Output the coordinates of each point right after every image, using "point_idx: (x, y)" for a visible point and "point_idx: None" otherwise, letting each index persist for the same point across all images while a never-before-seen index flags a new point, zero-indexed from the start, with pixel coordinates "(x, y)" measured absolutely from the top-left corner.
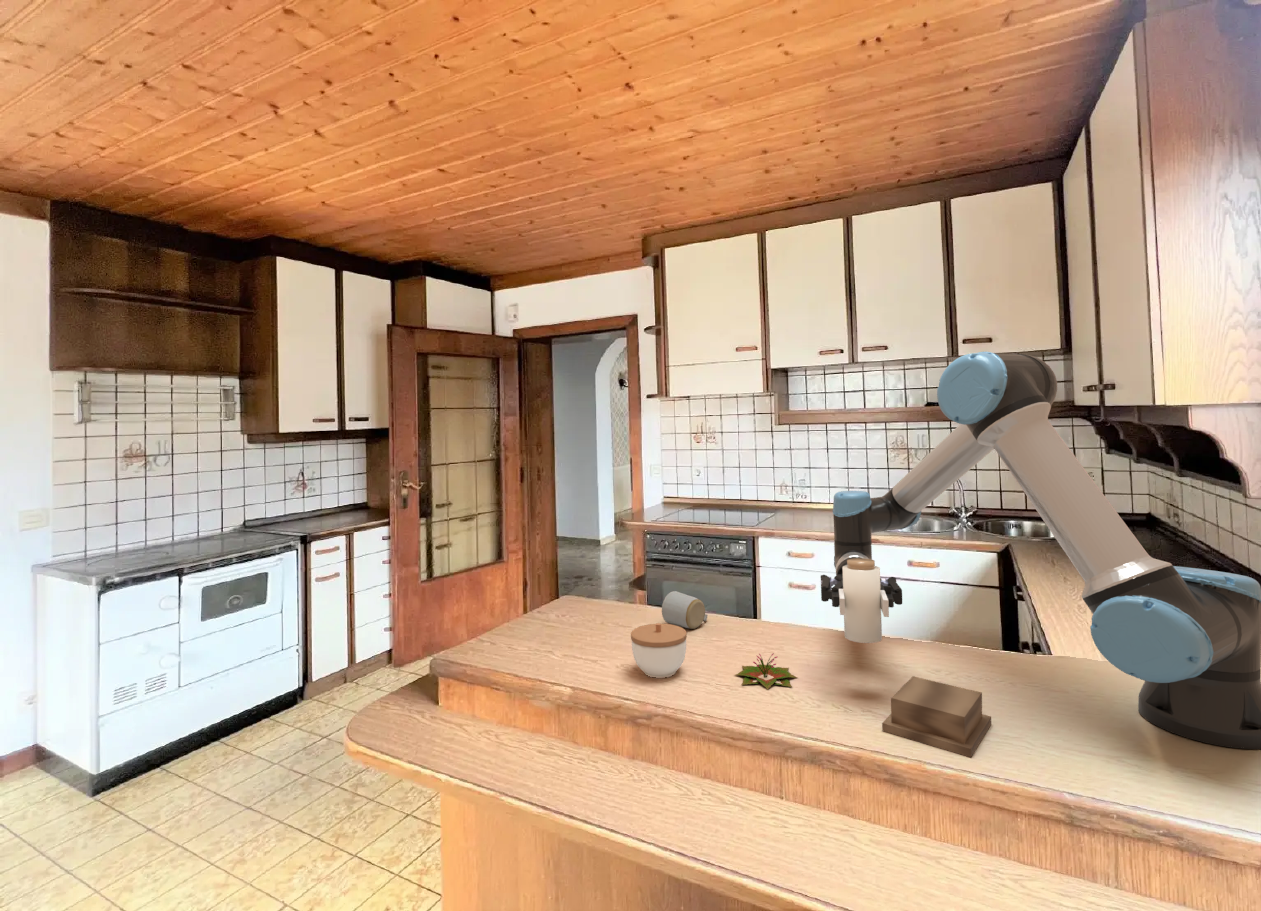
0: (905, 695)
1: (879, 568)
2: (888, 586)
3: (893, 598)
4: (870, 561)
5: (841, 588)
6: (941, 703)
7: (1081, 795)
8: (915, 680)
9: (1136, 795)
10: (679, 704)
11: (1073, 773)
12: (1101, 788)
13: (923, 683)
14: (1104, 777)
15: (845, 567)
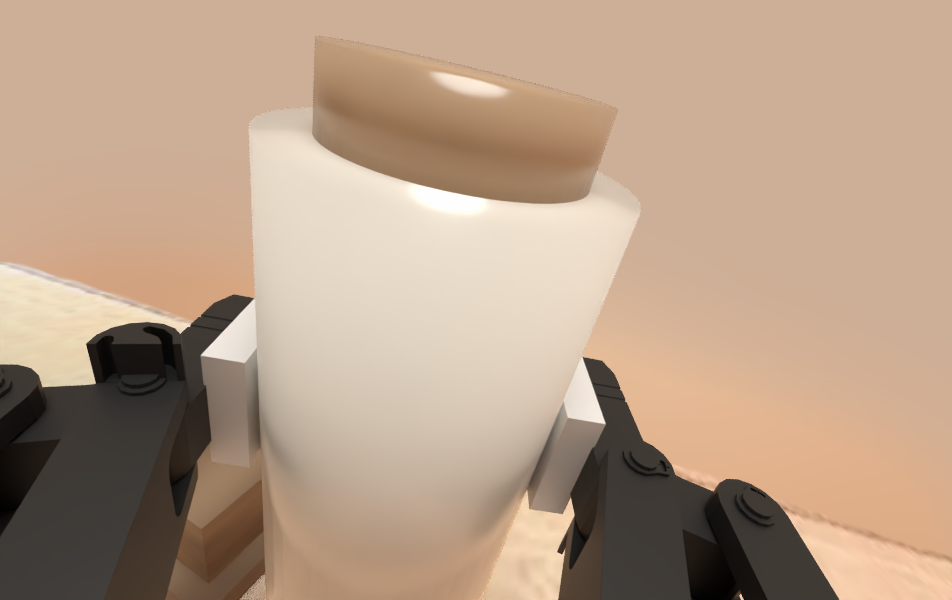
0: None
1: (281, 111)
2: (144, 326)
3: (214, 304)
4: (378, 49)
5: (596, 544)
6: None
7: (145, 308)
8: (217, 493)
9: (49, 304)
10: (839, 544)
11: (85, 340)
12: (88, 315)
13: (205, 472)
14: (37, 331)
15: (602, 185)
